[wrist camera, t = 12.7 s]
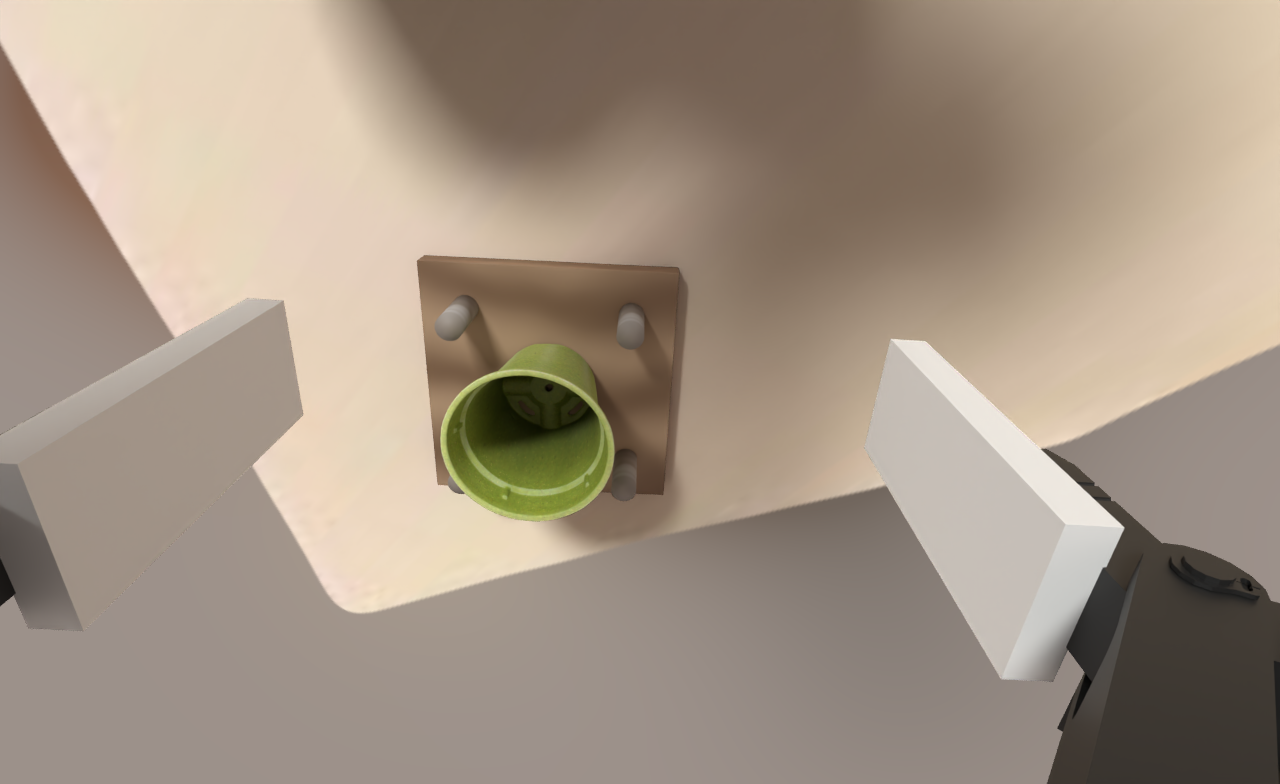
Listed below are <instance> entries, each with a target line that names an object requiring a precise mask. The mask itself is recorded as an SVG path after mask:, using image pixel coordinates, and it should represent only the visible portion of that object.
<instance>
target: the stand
mask: <svg viewBox="0 0 1280 784" xmlns="http://www.w3.org/2000/svg"><path fill="white" fill-rule="evenodd" d="M417 267H418V277H419V288H420V299H421V310H422V321H423V331H424V342H425V353H426V364H427V374H428V385H429V396H430V407H431V418H432V428H433V439H434V450H435V461H436V472H437V482H438V485H448V486H449V487H450V489H451V490H452V491H454V492H455V493H458V494H465V493H464V492H463V491H462V490H461V489H460V488H459V486H458V485H457V484H456V483H455V481H454V480H453V478H452V477H451V475H450V474H449V472H448V470H447V468H446V465H445V462H444V459H443V456H442V452H441V441H440V437H441V426H442V423H443V419H444V417H445V414H446V412H447V410H448V408H449V406H450V405H451V403H452V402H453V400H454V399H455V398H456V397H457V396H458V394H459V393H460V392H461V391H462V390H463V389H464V388H466V387H467V386H468V385H469V384H471V383H472V382H474V381H475V380H477V379H479V378H481V377H483V376H485V375H487V374H490V373H493V372H496V371H499V370H500V369H501V368H502V367H503V366H504V365H505V364H506V363H507V362H508V361H509V360H510V359H511V358H512V357H513V356H514V355H515V354H516V353H517V352H519V351H520V350H522V349H524V348H526V347H528V346H530V345H534V344H559V345H563V346H565V347H568V348H570V349H572V350H573V351H575V352H576V353H578V354H579V355H580V356H581V357H582V358H583V359H584V360H585V361H586V362H587V364H588V365H589V367H590V368H591V370H592V373H593V375H594V379H595V384H596V391H597V400H598V405H599V406H600V408H601V409H602V411H603V412H604V414H605V415H606V417H607V419H608V422H609V424H610V426H611V430H612V433H613V438H614V448H615V453H614V463H613V467H612V471H611V474H610V477H609V479H608V481H607V483H606V485H605V486H604V488H603V490H602V491H601V492H611V493H612V495H613V496H614V497H615V498H616V499H617V500H620V501H628V500H630V499H632V498H633V497H634V496H635V494H657V495H663V491H664V477H665V463H666V450H667V436H668V422H669V408H670V395H671V381H672V367H673V353H674V340H675V326H676V312H677V298H678V285H679V269H678V268H675V267H654V266H634V265H613V264H592V263H572V262H551V261H530V260H510V259H489V258H468V257H448V256H427V255H424V256H423V257H422V258H420V259H419V260H417ZM545 389H546V391H548V392H549V391H551V390H552V389H553V386H552V385H550V384H548V385H547V386H545ZM519 405H520V407H521V408H522V409H523V410H524V411H525V412H526V413H528V414H530V415H535V412H534V411H533V410H531V409H529V408H528V407H527V406H526V405H525V404H524V403H523V402H522V401H519ZM582 406H583V402H582V401H580V402H579V403H578V405H577V406H576V407H575V408H574V409H572V410H571V411H569V412H568V414H569V415H573V414H575V413H577V411H578V410H579V409H580V408H581V407H582Z"/></svg>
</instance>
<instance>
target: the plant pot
mask: <svg viewBox="0 0 1280 784" xmlns="http://www.w3.org/2000/svg"><path fill="white" fill-rule="evenodd" d="M548 384H550V385H552V386H553V389H552V390H551V391H549V392H548V391H546V389H545V386H547V385H548ZM519 401H522V402H523V403H524V404H525V405H526V406H527V407H528V408H529V409H531V410H533V411H534V412H535V415H530V414H528V413H526V412H525V411H524V410H523V409H522V408H521V407H520V405H519ZM580 401H582V402H583V406H582V407H581V408H580V409H579V410H578V411H577V413H575V414H573V415H569V414H568V412H569V411H571V410H572V409H574V408H575V407H576V406H577V405H578V403H579V402H580ZM440 441H441V452H442V456H443V459H444V462H445V465H446V468H447V470H448V472H449V474H450V475H451V477H452V478H453V480H454V481H455V483H456V484H457V485H458V486H459V488H460V489H461V490H462V491H463V492H464V493H465V494H466V495H468V496H469V497H470V498H471V499H472V500H474V501H475V502H476V503H478V504H479V505H481V506H482V507H484V508H486V509H488V510H490V511H492V512H494V513H496V514H499V515H502V516H505V517H508V518H512V519H517V520H524V521H537V522H539V521H548V520H555V519H559V518H562V517H565V516H568V515H570V514H573V513H575V512H577V511H579V510H581V509H582V508H584V507H585V506H587V505H588V504H589V503H590V502H591V501H593V500H594V499H595V498H596V497H597V496H598V495H599V493H600V492H601V491H602V490H603V488H604V486H605V485H606V483H607V481H608V479H609V477H610V474H611V471H612V467H613V463H614V453H615V448H614V438H613V433H612V430H611V426H610V424H609V422H608V419H607V417H606V415H605V414H604V412H603V411H602V409H601V408H600V406H599V405H598V400H597V391H596V384H595V379H594V375H593V373H592V370H591V368H590V367H589V365H588V364H587V362H586V361H585V360H584V359H583V358H582V357H581V356H580V355H579V354H578V353H576V352H575V351H573V350H572V349H570V348H568V347H565V346H563V345H559V344H534V345H530V346H528V347H526V348H524V349H522V350H520V351H519V352H517V353H516V354H515V355H514V356H513V357H512V358H511V359H510V360H509V361H508V362H507V363H506V364H505V365H504V366H503V367H502V368H501V369H500V370H499V371H496V372H493V373H490V374H487V375H485V376H483V377H481V378H479V379H477V380H475V381H474V382H472V383H471V384H469V385H468V386H467V387H466V388H464V389H463V390H462V391H461V392H460V393H459V394H458V396H457V397H456V398H455V399H454V400H453V402H452V403H451V405H450V406H449V408H448V410H447V412H446V414H445V417H444V419H443V423H442V426H441V437H440Z"/></svg>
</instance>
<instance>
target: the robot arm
mask: <svg viewBox="0 0 1280 784" xmlns="http://www.w3.org/2000/svg"><path fill="white" fill-rule="evenodd" d="M302 416H303V410H302V404H301V398H300V393H299V387H298V381H297V375H296V370H295V364H294V358H293V352H292V347H291V341H290V335H289V329H288V324H287V318H286V312H285V306H284V301H282V300H266V299H250V298H247V299H245V300H243V301H242V302H240V303H238V304H236V305H234V306H233V307H231V308H229V309H227V310H225V311H224V312H222V313H220V314H218V315H216V316H214V317H213V318H211V319H209V320H207V321H205V322H204V323H202V324H200V325H198V326H196V327H195V328H193V329H191V330H189V331H187V332H186V333H184V334H182V335H180V336H178V337H176V338H175V339H173V340H171V341H169V342H167V343H166V344H164V345H162V346H160V347H158V348H157V349H155V350H153V351H151V352H150V353H148V354H146V355H144V356H142V357H140V358H138V359H137V360H135V361H133V362H131V363H129V364H128V365H126V366H124V367H122V368H121V369H119V370H117V371H115V372H113V373H111V374H110V375H108V376H106V377H104V378H102V379H101V380H99V381H97V382H95V383H93V384H91V385H90V386H88V387H86V388H84V389H82V390H81V391H79V392H77V393H75V394H74V395H72V396H70V397H68V398H66V399H64V400H63V401H61V402H59V403H57V404H55V405H53V406H51V407H49V408H48V409H46V410H44V411H42V412H40V413H39V414H37V415H35V416H33V417H31V418H29V419H28V420H26V421H24V422H23V423H21V424H19V425H17V426H15V427H13V428H11V429H9V430H8V431H6V432H4V433H2V434H0V606H1V605H2V604H3V603H5V602H6V601H7V600H8V599H10V598H11V597H12V596H13V595H14V597H15V599H16V602H17V604H18V606H19V608H20V611H21V613H22V615H23V617H24V620H25V622H26V624H27V626H28V628H33V629H52V630H71V631H84V630H85V629H86V628H87V627H88V626H89V625H90V624H91V623H92V622H93V621H94V620H96V618H98V617H99V615H101V614H102V613H103V612H104V610H106V609H107V608H108V607H109V606H110V605H111V603H113V602H114V601H115V600H116V599H117V598H118V597H119V596H120V595H121V594H122V593H123V592H124V591H125V590H126V589H127V588H128V587H129V586H130V585H131V584H132V583H133V582H134V581H135V580H136V579H137V578H138V577H139V576H140V575H141V574H142V573H143V572H144V571H145V570H146V569H147V568H148V567H149V566H150V565H151V564H152V563H153V562H154V561H155V560H156V559H157V558H158V557H159V556H161V554H163V553H164V551H166V550H167V549H168V548H169V547H170V545H172V544H173V543H174V542H175V541H176V540H177V539H178V538H179V537H180V536H181V535H182V534H183V533H184V532H185V531H186V530H187V529H188V528H189V527H190V526H191V525H192V524H193V523H194V522H195V521H196V520H197V519H198V518H199V517H200V516H201V515H202V514H203V513H204V512H205V511H206V510H207V509H208V508H209V507H210V506H211V505H212V504H213V503H214V502H215V501H216V500H217V499H218V498H219V497H220V496H221V495H222V494H223V493H224V492H226V491H227V490H228V488H229V487H231V486H232V485H233V484H234V483H235V481H237V479H239V478H240V477H241V476H242V475H243V474H244V473H245V472H246V471H247V470H248V469H249V468H250V467H251V466H252V465H253V464H254V463H255V462H256V461H257V460H258V459H259V458H260V457H261V456H262V455H263V454H264V453H265V452H266V451H267V450H268V449H269V448H270V447H271V446H272V445H273V444H274V443H275V442H276V441H277V440H278V439H279V438H280V437H281V436H282V435H283V434H284V433H285V432H286V431H287V430H288V429H289V428H291V427H292V426H293V425H294V424H295V423H296V422H297V421H298V420H299V419H300V418H301V417H302ZM864 449H865V450H866V452H867V454H868V455H869V457H870V459H871V461H872V462H873V464H874V466H875V467H876V469H877V471H878V472H879V474H880V476H881V477H882V479H883V481H884V482H885V484H886V486H887V488H888V489H889V490H890V492H891V494H892V496H893V498H894V499H895V501H896V503H897V504H898V506H899V507H900V509H901V511H902V513H903V514H904V516H905V518H906V520H907V521H908V523H909V524H910V526H911V528H912V529H913V531H914V533H915V535H916V536H917V538H918V540H919V541H920V543H921V545H922V546H923V548H924V550H925V552H926V553H927V555H928V557H929V558H930V560H931V562H932V563H933V565H934V567H935V568H936V570H937V572H938V574H939V575H940V577H941V578H942V580H943V582H944V584H945V585H946V587H947V589H948V590H949V592H950V594H951V595H952V597H953V599H954V600H955V602H956V604H957V606H958V607H959V609H960V611H961V612H962V614H963V616H964V617H965V619H966V620H967V622H968V624H969V626H970V627H971V629H972V631H973V632H974V634H975V636H976V638H977V639H978V641H979V643H980V644H981V646H982V648H983V649H984V651H985V653H986V654H987V656H988V658H989V660H990V661H991V663H992V664H993V666H994V668H995V669H996V671H997V673H998V675H999V676H1000V678H1001V679H1009V680H1030V681H1049V682H1053V681H1054V679H1055V676H1056V674H1057V672H1058V670H1059V668H1060V666H1061V663H1062V661H1063V659H1064V657H1065V655H1066V653H1067V651H1068V650H1069V652H1070V653H1071V654H1072V656H1073V657H1074V658H1075V660H1076V661H1077V663H1078V664H1079V665H1080V667H1081V668H1082V669H1083V671H1084V672H1085V673H1084V675H1083V677H1082V679H1081V681H1080V683H1079V685H1078V687H1077V689H1076V691H1075V693H1074V695H1073V697H1072V699H1071V701H1070V703H1069V705H1068V708H1067V709H1066V712H1065V714H1064V716H1063V718H1062V720H1061V722H1060V724H1059V726H1058V729H1059V730H1061V731H1063V733H1062V736H1061V740H1060V743H1059V746H1058V749H1057V753H1056V756H1055V759H1054V762H1053V766H1052V769H1051V773H1050V775H1049V779H1048V782H1047V784H1280V603H1277V602H1273V601H1271V600H1270V599H1269V596H1268V594H1267V592H1266V590H1265V589H1264V588H1263V587H1262V586H1261V585H1260V584H1259V583H1258V582H1257V581H1256V580H1255V579H1254V578H1253V577H1252V576H1250V575H1249V574H1247V573H1245V572H1244V571H1242V570H1241V569H1239V568H1238V567H1236V566H1235V565H1233V564H1231V563H1230V562H1227V561H1225V560H1223V559H1221V558H1218V557H1216V556H1214V555H1212V554H1209V553H1207V552H1204V551H1200V550H1197V549H1194V548H1190V547H1187V546H1183V545H1174V544H1167V543H1163V544H1162V543H1161V542H1160V541H1159V540H1157V539H1156V538H1155V537H1154V536H1153V535H1152V534H1151V533H1150V532H1149V531H1147V530H1146V529H1145V528H1144V527H1143V526H1142V525H1141V524H1140V523H1139V522H1137V521H1136V520H1135V519H1134V518H1133V517H1132V516H1131V515H1130V514H1129V513H1127V512H1126V511H1125V510H1124V509H1123V508H1122V507H1121V506H1120V505H1118V504H1117V503H1116V502H1115V501H1111V497H1110V496H1108V495H1107V494H1106V493H1105V492H1104V491H1103V490H1102V489H1101V488H1100V487H1098V486H1094V482H1093V481H1092V480H1091V479H1090V478H1088V477H1087V476H1086V475H1085V474H1084V473H1083V472H1082V471H1081V470H1080V469H1079V468H1077V467H1076V466H1075V465H1074V464H1072V463H1070V462H1068V461H1067V460H1065V459H1063V458H1061V457H1059V456H1058V455H1056V454H1054V453H1052V452H1051V451H1049V450H1047V449H1040V448H1039V447H1038V446H1037V445H1036V444H1035V443H1034V442H1033V441H1031V440H1030V439H1029V438H1028V437H1027V436H1026V435H1025V434H1024V433H1023V432H1022V431H1021V430H1020V429H1019V428H1018V427H1017V426H1015V425H1014V424H1013V423H1012V422H1011V421H1010V420H1009V419H1008V418H1007V417H1006V416H1005V415H1004V414H1003V413H1002V412H1001V411H999V410H998V409H997V408H996V407H995V406H994V405H993V404H992V403H991V402H990V401H989V400H988V399H987V398H986V397H984V396H983V395H982V394H981V393H980V392H979V391H978V390H977V389H976V388H975V387H974V386H973V385H972V384H971V383H970V382H968V381H967V380H966V379H965V378H964V377H963V376H962V375H961V374H960V373H959V372H958V371H957V370H956V369H955V368H954V367H952V366H951V365H950V364H949V363H948V362H947V361H946V360H945V359H944V358H943V357H942V356H941V355H940V354H939V353H938V352H936V351H935V350H934V349H933V348H932V347H931V346H930V345H929V344H928V343H927V342H926V341H916V340H900V339H890V344H889V348H888V352H887V356H886V360H885V364H884V368H883V372H882V377H881V381H880V385H879V389H878V393H877V397H876V401H875V405H874V410H873V414H872V418H871V422H870V426H869V430H868V434H867V439H866V443H865V447H864Z"/></svg>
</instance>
